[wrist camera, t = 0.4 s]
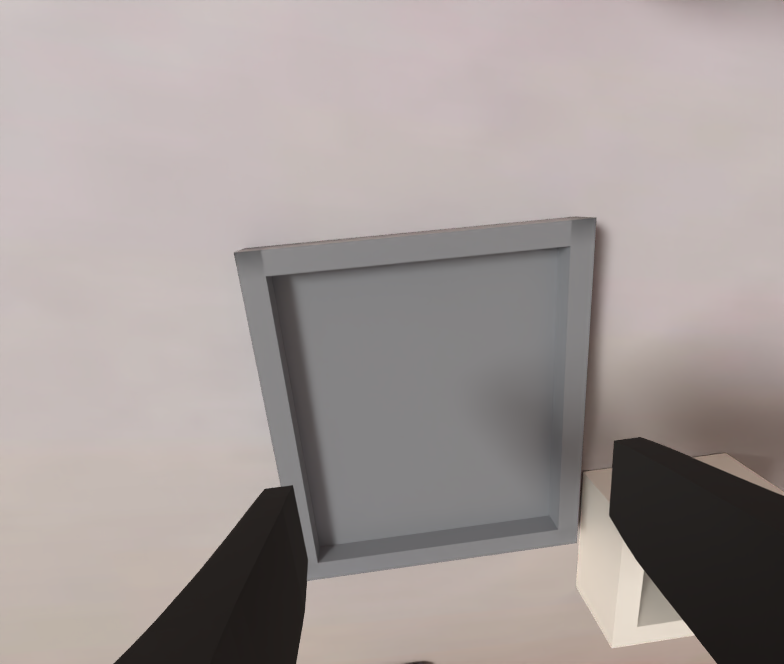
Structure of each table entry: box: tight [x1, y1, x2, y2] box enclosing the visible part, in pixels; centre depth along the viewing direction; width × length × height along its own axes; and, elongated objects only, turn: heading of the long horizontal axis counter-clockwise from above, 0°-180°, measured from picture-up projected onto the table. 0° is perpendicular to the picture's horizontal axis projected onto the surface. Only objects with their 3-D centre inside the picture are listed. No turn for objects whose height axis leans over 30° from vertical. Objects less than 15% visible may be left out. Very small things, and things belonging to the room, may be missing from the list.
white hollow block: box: [576, 453, 784, 648], centre depth 21 cm, size 8×8×4 cm
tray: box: [234, 217, 596, 581], centre depth 19 cm, size 16×14×2 cm
